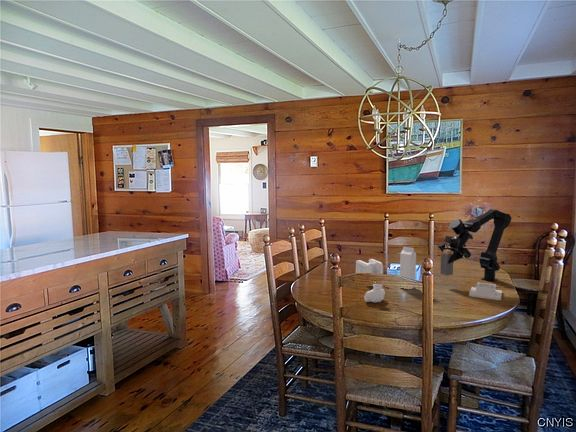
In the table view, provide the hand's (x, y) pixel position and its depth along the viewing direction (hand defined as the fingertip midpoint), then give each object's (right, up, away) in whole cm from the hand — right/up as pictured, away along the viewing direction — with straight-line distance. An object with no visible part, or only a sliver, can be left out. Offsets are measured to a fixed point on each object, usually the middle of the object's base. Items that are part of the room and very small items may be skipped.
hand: (445, 262), depth 217 cm
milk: (-20, -14, 0) cm, 25 cm away
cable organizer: (-38, -13, +14) cm, 42 cm away
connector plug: (+1, -7, +1) cm, 7 cm away
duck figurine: (-42, -16, -23) cm, 50 cm away
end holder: (+15, -15, -12) cm, 25 cm away
